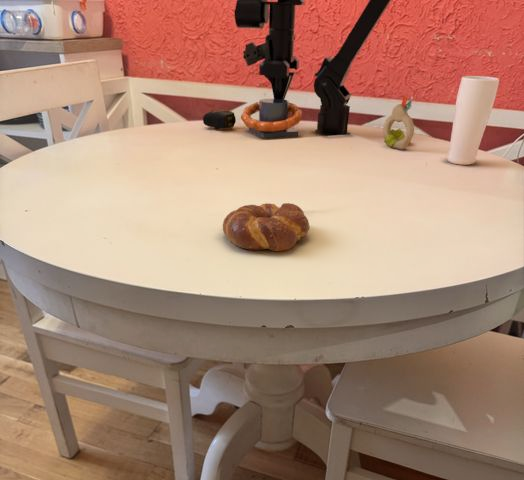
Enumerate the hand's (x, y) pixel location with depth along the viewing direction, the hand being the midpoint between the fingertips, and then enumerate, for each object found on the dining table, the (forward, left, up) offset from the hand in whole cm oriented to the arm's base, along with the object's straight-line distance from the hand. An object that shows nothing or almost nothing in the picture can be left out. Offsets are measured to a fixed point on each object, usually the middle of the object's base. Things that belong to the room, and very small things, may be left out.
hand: (278, 106), depth 121 cm
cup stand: (+4, +5, -5) cm, 8 cm away
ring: (+4, +4, -1) cm, 6 cm away
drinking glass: (-21, +41, -5) cm, 46 cm away
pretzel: (+32, +64, -5) cm, 71 cm away
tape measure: (+14, -4, -5) cm, 15 cm away
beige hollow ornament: (-18, +26, -5) cm, 32 cm away
